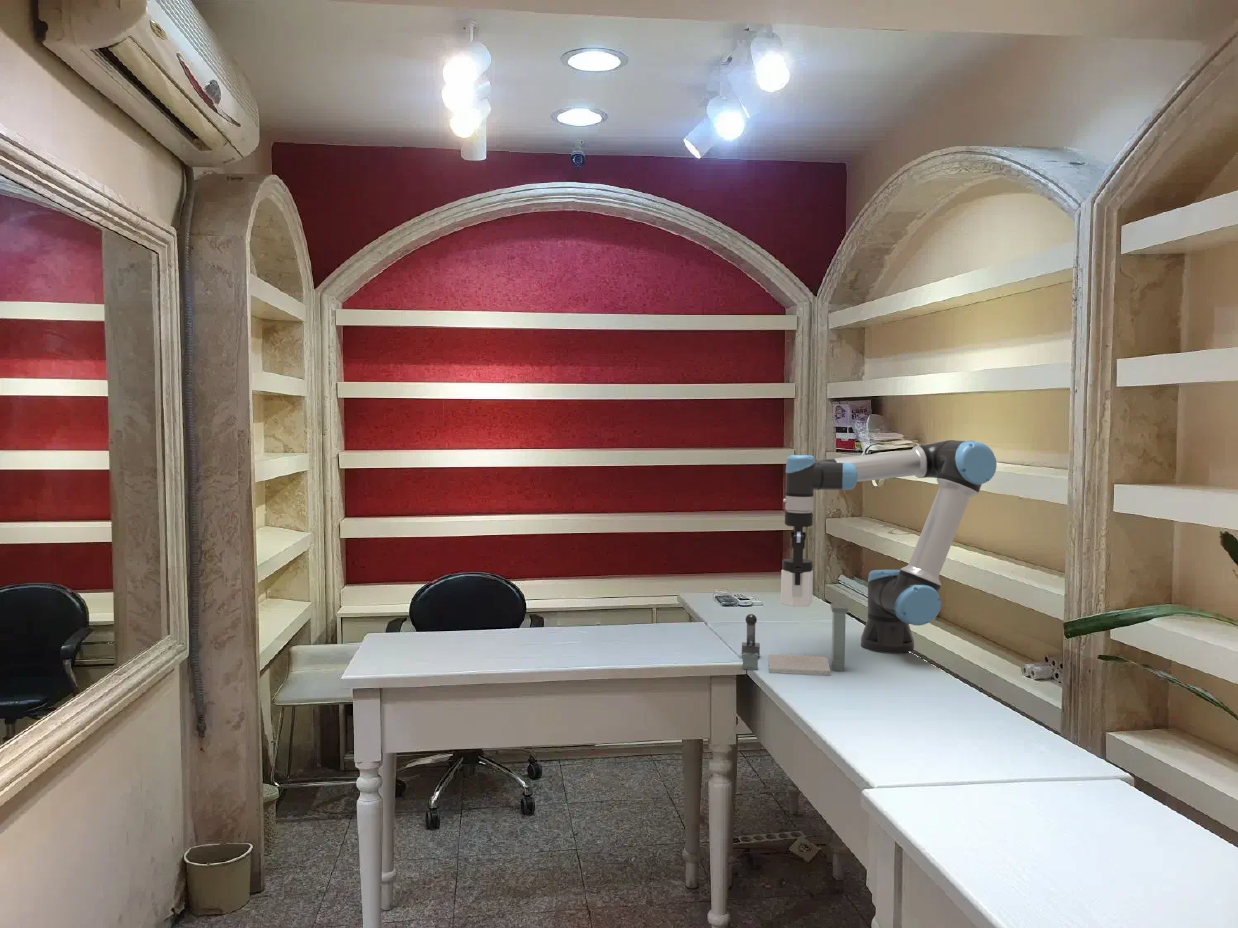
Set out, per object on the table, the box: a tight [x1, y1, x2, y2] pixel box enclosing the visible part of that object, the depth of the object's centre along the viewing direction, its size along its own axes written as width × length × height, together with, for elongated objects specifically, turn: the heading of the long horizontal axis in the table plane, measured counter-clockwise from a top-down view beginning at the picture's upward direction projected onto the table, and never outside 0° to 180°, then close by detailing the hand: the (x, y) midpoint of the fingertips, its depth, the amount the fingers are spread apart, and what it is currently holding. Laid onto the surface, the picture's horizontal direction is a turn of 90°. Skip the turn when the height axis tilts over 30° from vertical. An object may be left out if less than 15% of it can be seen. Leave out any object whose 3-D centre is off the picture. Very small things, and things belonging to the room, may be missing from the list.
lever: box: [741, 613, 761, 656], centre depth 249 cm, size 5×4×11 cm
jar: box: [780, 557, 814, 608], centre depth 241 cm, size 9×8×12 cm
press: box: [742, 602, 849, 676], centre depth 241 cm, size 28×17×17 cm, turn 81°
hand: (796, 593), depth 241 cm, fingers closed on jar, 8 cm apart
